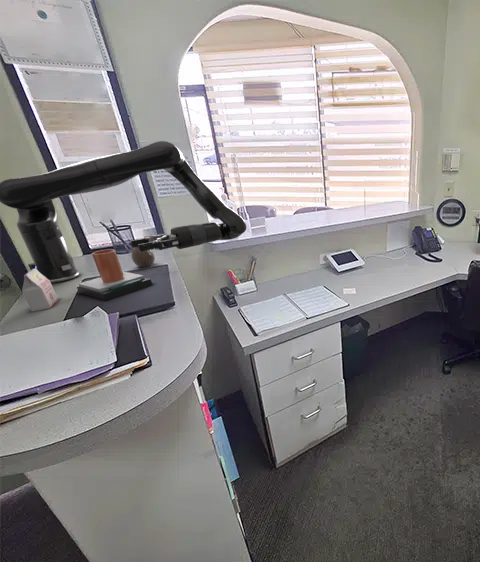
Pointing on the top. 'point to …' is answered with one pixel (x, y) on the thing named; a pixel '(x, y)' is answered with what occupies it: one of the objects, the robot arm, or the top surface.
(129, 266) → the top surface
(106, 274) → the cup
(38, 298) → the milk carton
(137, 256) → the brown coconut
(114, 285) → the scale
